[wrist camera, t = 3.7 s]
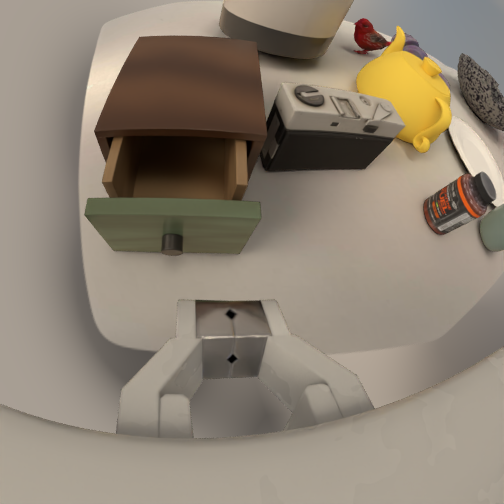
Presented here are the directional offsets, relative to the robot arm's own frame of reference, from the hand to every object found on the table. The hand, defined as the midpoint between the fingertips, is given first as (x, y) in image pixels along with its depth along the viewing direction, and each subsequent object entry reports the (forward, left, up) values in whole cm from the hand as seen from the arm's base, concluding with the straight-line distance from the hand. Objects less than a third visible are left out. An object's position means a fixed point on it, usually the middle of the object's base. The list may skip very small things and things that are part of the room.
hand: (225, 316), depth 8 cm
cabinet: (+20, +3, -15) cm, 25 cm away
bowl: (+60, -84, -16) cm, 105 cm away
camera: (+21, -12, -16) cm, 29 cm away
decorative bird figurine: (+55, -33, -16) cm, 66 cm away
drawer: (+13, +3, -14) cm, 19 cm away
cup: (+11, -49, -16) cm, 53 cm away
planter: (+46, -9, -16) cm, 49 cm away
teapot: (+35, -31, -16) cm, 49 cm away
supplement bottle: (+13, -32, -16) cm, 38 cm away
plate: (+30, -59, -16) cm, 68 cm away
